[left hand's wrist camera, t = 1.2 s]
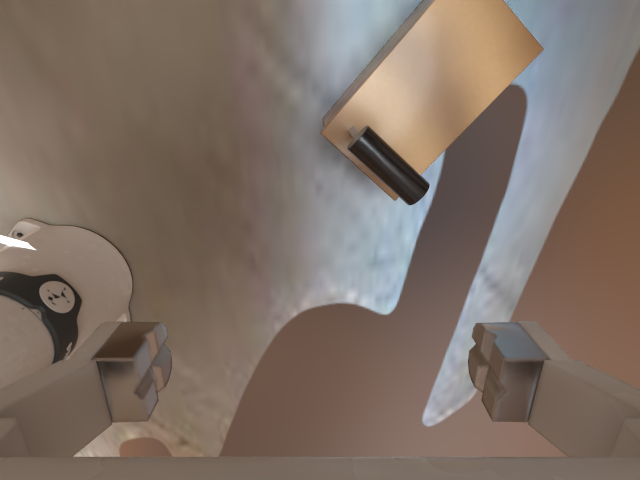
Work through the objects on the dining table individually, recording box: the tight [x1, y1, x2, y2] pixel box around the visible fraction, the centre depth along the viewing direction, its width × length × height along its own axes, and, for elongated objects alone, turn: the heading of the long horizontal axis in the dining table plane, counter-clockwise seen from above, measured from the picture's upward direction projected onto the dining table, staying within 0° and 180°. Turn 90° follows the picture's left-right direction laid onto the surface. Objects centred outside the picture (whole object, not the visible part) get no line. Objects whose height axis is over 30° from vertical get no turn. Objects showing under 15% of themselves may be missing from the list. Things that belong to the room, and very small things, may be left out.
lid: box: [321, 0, 543, 205], centre depth 30 cm, size 17×9×10 cm, turn 139°
